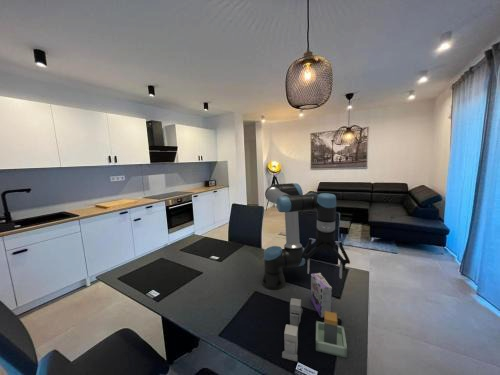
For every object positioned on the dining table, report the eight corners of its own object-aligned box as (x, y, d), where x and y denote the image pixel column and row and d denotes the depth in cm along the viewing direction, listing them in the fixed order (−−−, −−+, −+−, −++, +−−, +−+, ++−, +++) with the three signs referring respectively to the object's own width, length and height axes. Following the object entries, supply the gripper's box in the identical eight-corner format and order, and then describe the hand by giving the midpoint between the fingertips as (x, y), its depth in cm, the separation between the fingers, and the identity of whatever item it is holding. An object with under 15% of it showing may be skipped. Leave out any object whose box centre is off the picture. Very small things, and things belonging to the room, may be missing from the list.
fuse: (324, 343, 90) (324, 318, 89) (324, 334, 95) (324, 310, 93) (336, 347, 89) (337, 321, 87) (335, 337, 93) (336, 313, 92)
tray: (315, 350, 88) (315, 342, 88) (316, 328, 99) (316, 320, 99) (346, 358, 84) (347, 349, 84) (343, 334, 96) (343, 326, 95)
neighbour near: (284, 352, 88) (284, 333, 87) (286, 342, 93) (286, 324, 91) (296, 355, 86) (296, 336, 85) (297, 345, 91) (297, 326, 90)
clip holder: (282, 357, 85) (282, 344, 85) (290, 309, 112) (290, 299, 111) (297, 361, 84) (297, 348, 83) (302, 312, 110) (302, 301, 109)
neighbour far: (290, 320, 105) (289, 304, 104) (291, 313, 109) (291, 297, 108) (300, 322, 103) (300, 306, 102) (301, 315, 108) (301, 299, 107)
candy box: (310, 299, 120) (310, 273, 117) (320, 299, 120) (320, 272, 118) (320, 318, 106) (320, 288, 104) (331, 317, 106) (332, 287, 104)
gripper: (295, 229, 91) (294, 274, 94) (359, 235, 83) (356, 284, 86) (297, 224, 98) (296, 266, 101) (356, 228, 90) (353, 274, 93)
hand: (324, 274), depth 94 cm, fingers open, 13 cm apart
